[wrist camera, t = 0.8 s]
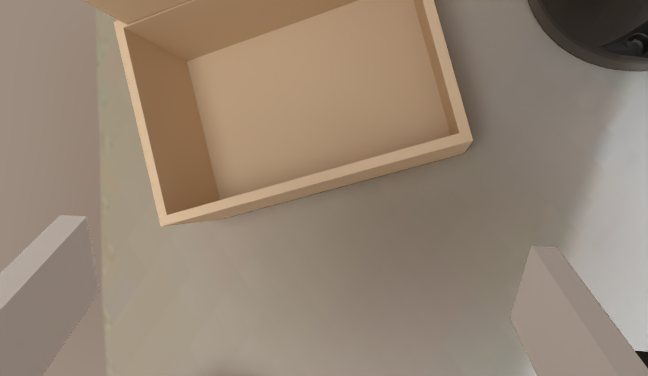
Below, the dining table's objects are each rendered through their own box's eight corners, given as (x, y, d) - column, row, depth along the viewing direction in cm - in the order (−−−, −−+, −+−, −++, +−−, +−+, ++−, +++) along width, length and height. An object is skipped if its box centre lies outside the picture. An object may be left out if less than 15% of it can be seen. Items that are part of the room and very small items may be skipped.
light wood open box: (414, -25, 37) (407, -93, 28) (464, 153, 36) (473, 140, 27) (182, 58, 41) (113, 22, 32) (220, 219, 40) (160, 226, 31)
